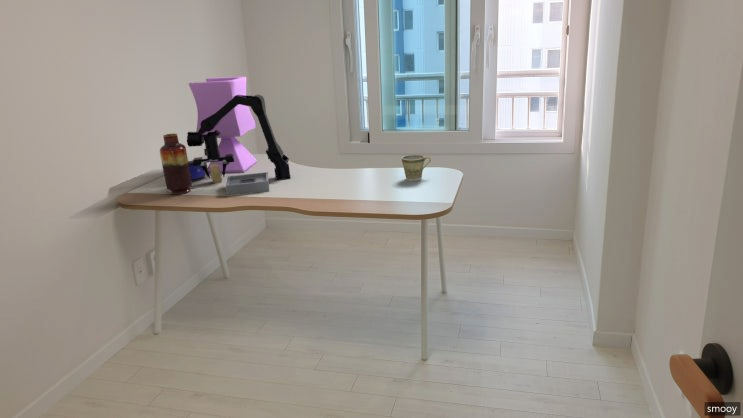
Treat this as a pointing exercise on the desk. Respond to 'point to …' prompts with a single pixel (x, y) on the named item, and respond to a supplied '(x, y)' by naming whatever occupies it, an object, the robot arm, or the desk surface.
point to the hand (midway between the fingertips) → (216, 177)
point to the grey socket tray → (247, 183)
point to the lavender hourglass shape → (226, 119)
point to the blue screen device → (196, 172)
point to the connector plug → (216, 173)
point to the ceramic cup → (414, 166)
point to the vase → (175, 165)
